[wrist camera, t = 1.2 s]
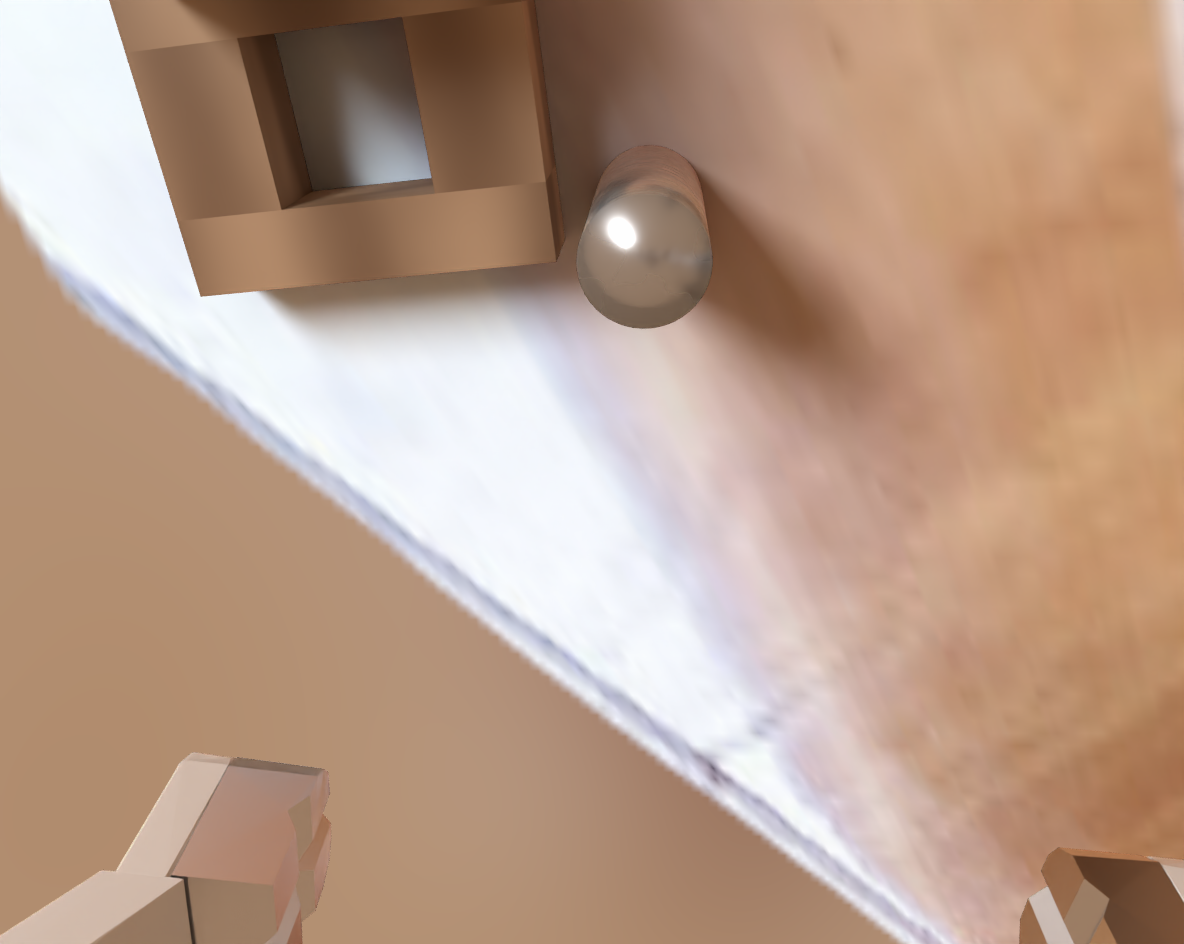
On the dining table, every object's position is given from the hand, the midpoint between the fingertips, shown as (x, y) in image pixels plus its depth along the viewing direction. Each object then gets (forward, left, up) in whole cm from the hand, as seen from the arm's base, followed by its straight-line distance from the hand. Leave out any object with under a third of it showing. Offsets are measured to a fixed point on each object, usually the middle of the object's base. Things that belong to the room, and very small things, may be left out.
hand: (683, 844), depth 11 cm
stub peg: (+1, -2, -25) cm, 25 cm away
